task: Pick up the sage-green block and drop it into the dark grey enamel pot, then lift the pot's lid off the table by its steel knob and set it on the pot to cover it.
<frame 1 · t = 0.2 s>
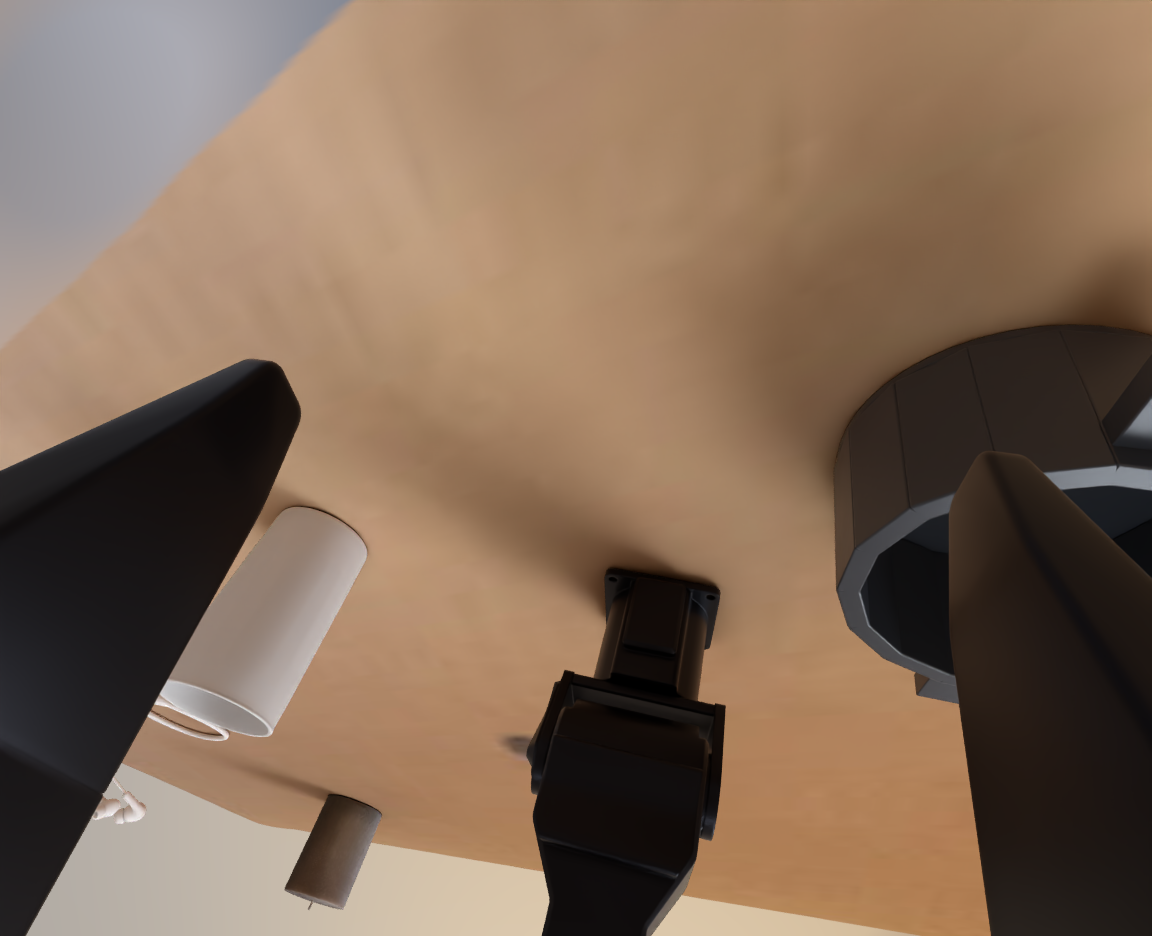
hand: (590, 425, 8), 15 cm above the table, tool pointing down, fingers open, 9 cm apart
earphone: (163, 704, 90), on the table
pot: (1012, 463, 25), on the table
pillar candle: (356, 804, 107), on the table
mug: (309, 535, 43), on the table
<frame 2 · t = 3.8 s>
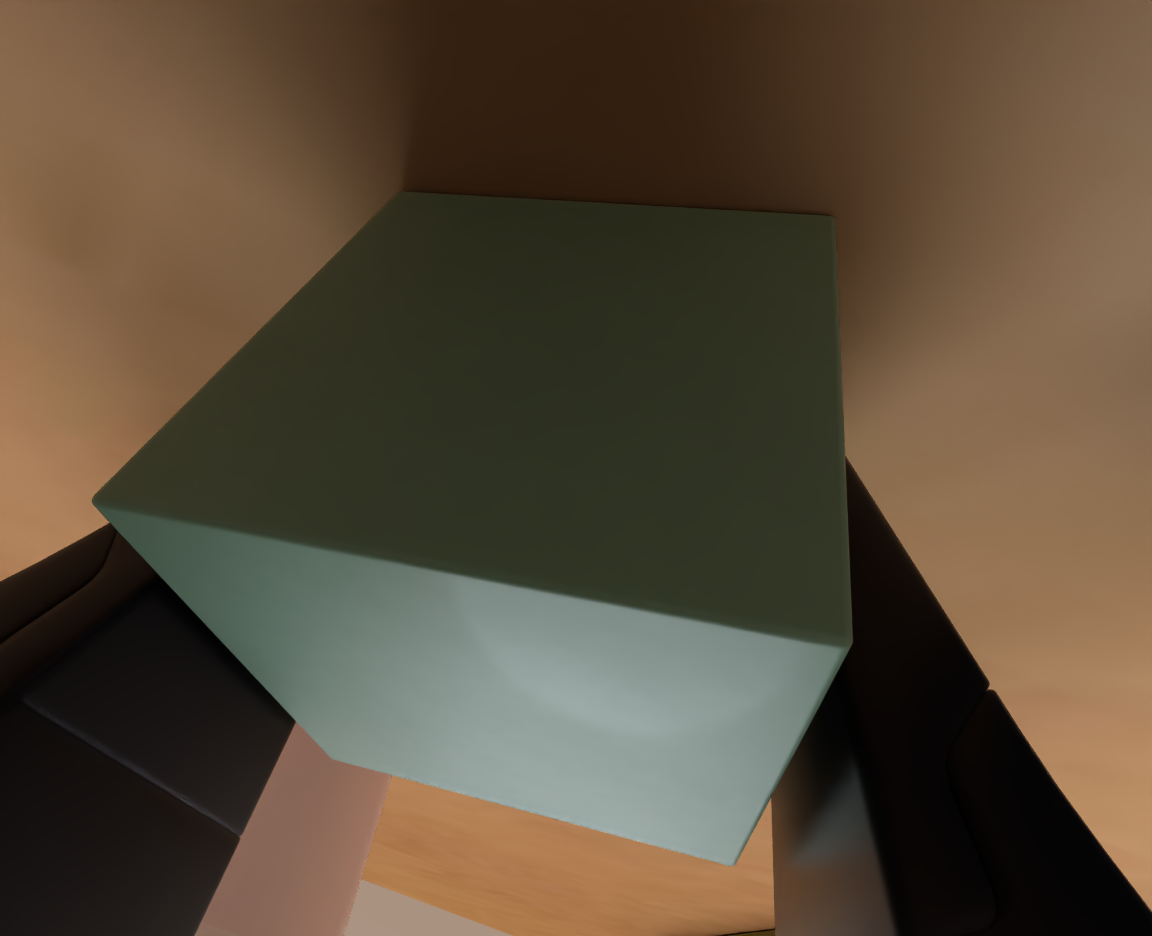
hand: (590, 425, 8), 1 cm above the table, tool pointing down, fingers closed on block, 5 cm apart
block: (605, 377, 9), on the table, touching gripper
smoothie: (361, 695, 22), on the table
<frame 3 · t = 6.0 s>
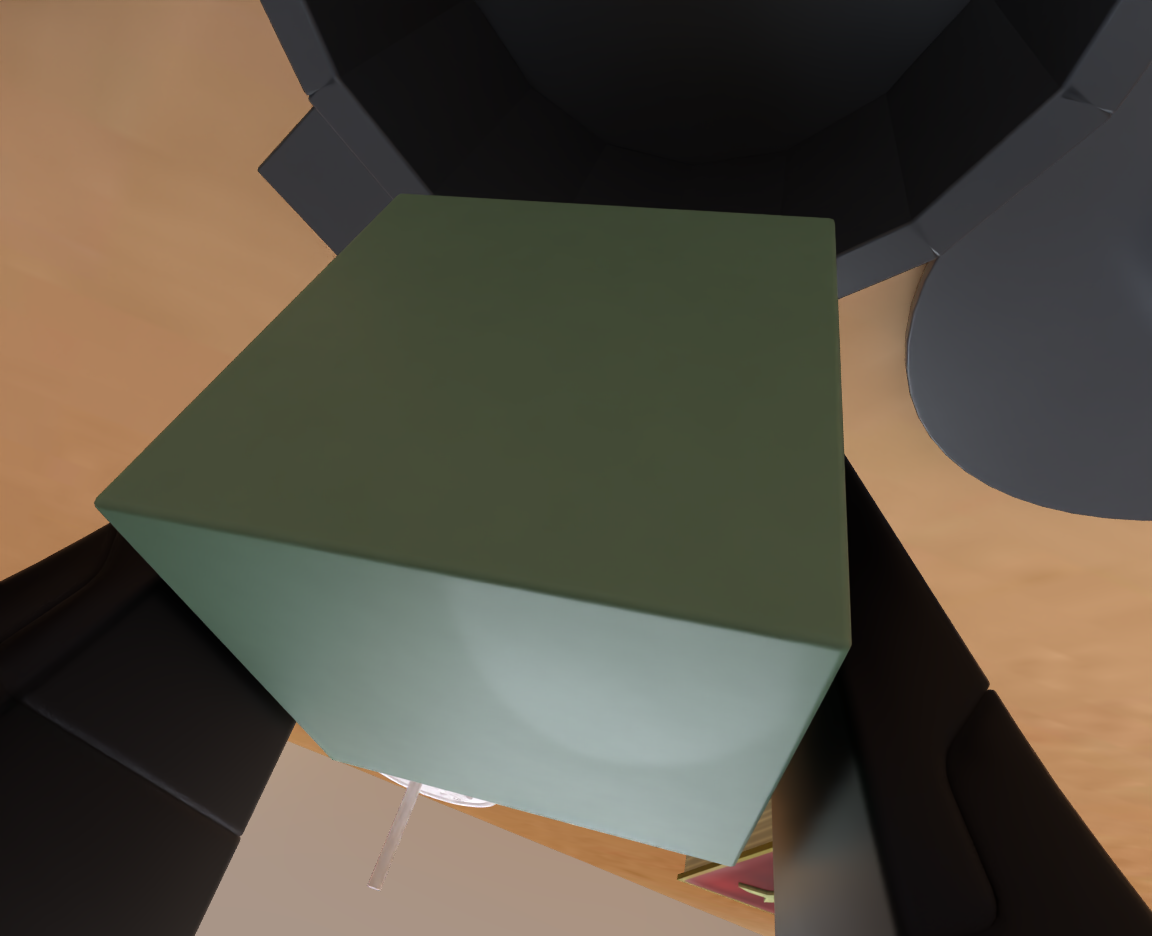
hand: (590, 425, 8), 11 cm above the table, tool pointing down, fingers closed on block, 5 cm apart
block: (606, 378, 9), point 10 cm above the table, touching gripper
smoothie: (503, 591, 35), on the table
hardcover book: (808, 827, 49), on the table
when the fingers open (5 cm above the table, at t = 8.6 s): block drops 4 cm, resting on pot.
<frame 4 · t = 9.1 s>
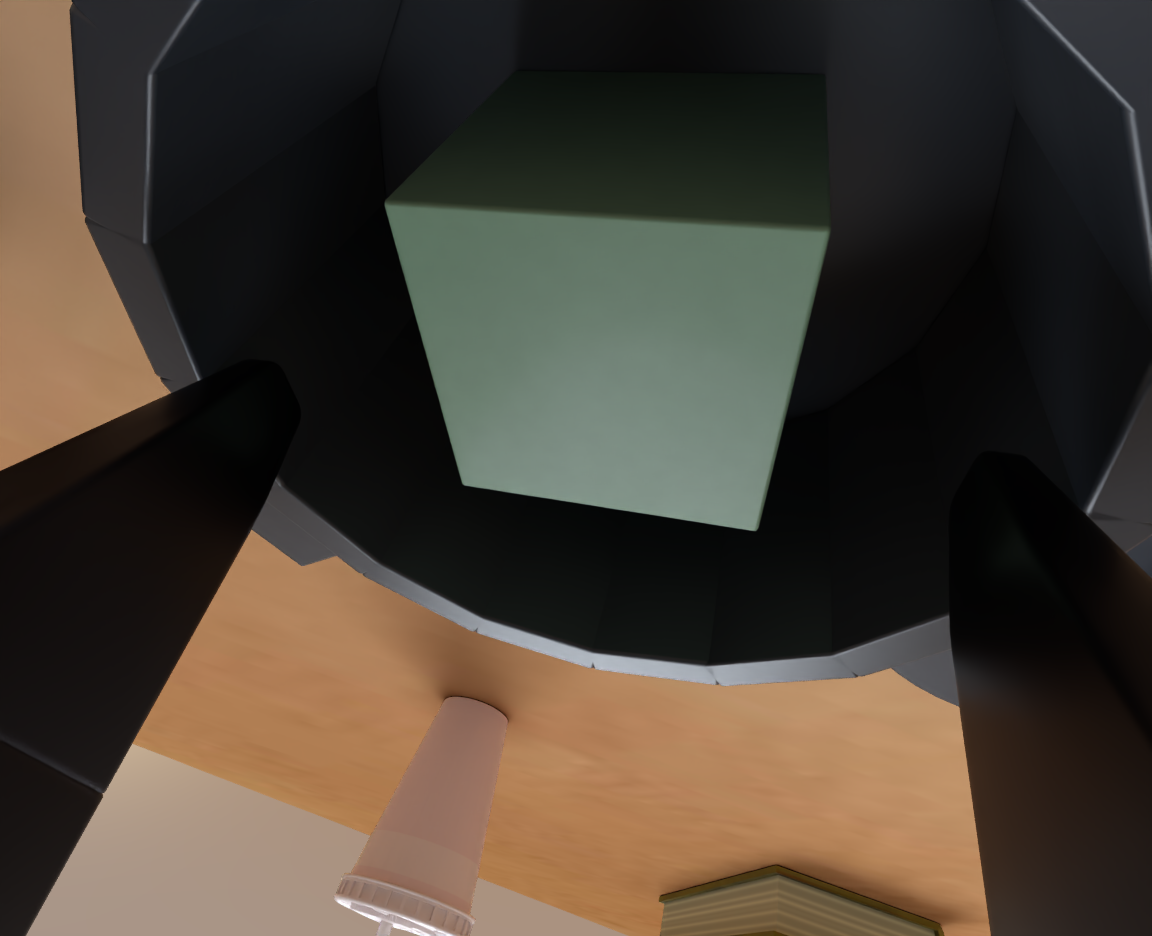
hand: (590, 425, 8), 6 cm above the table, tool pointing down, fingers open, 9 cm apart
pot: (661, 211, 12), on the table
block: (656, 222, 12), resting on pot
smoothie: (477, 709, 35), on the table
hardcover book: (780, 906, 50), on the table
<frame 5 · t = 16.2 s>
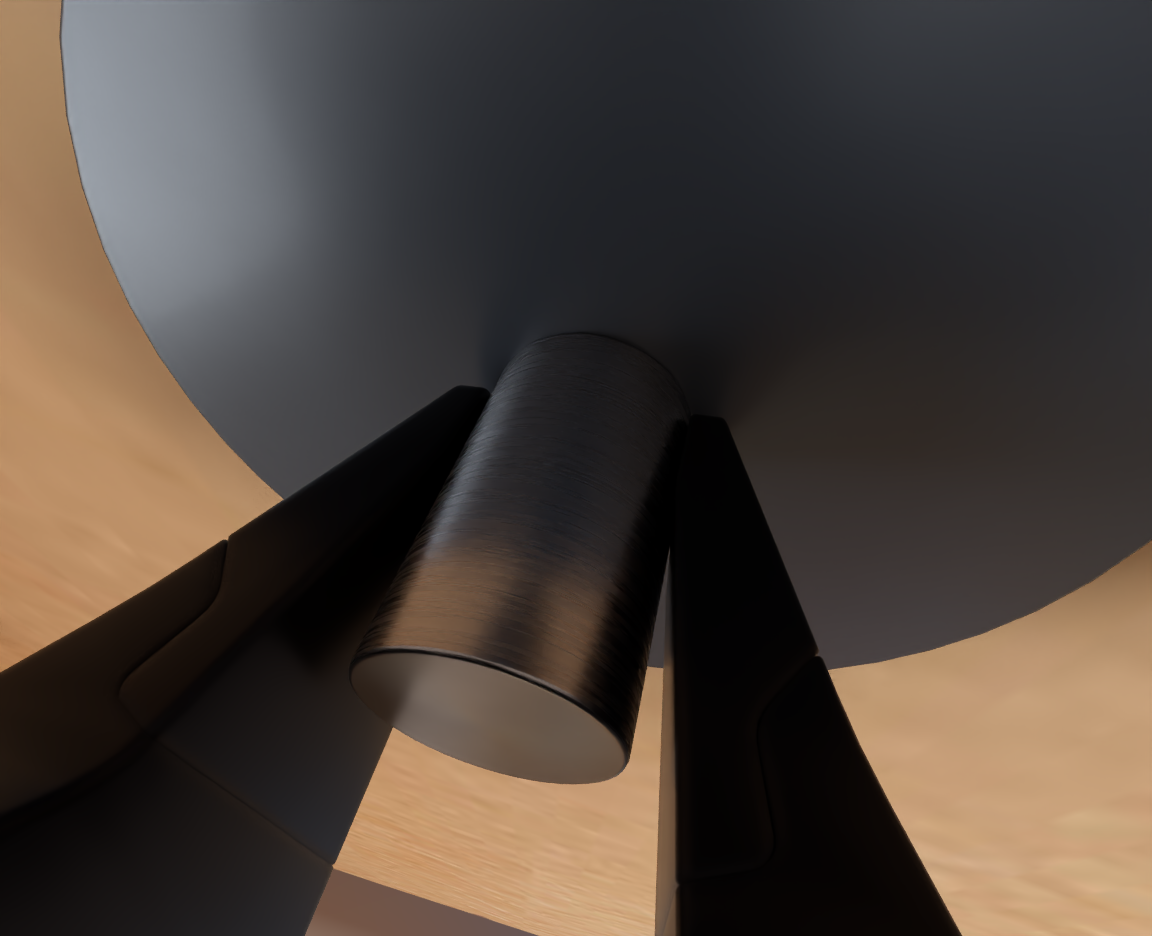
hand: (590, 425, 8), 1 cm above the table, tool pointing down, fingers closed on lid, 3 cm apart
lid: (601, 390, 9), point 1 cm above the table, touching gripper
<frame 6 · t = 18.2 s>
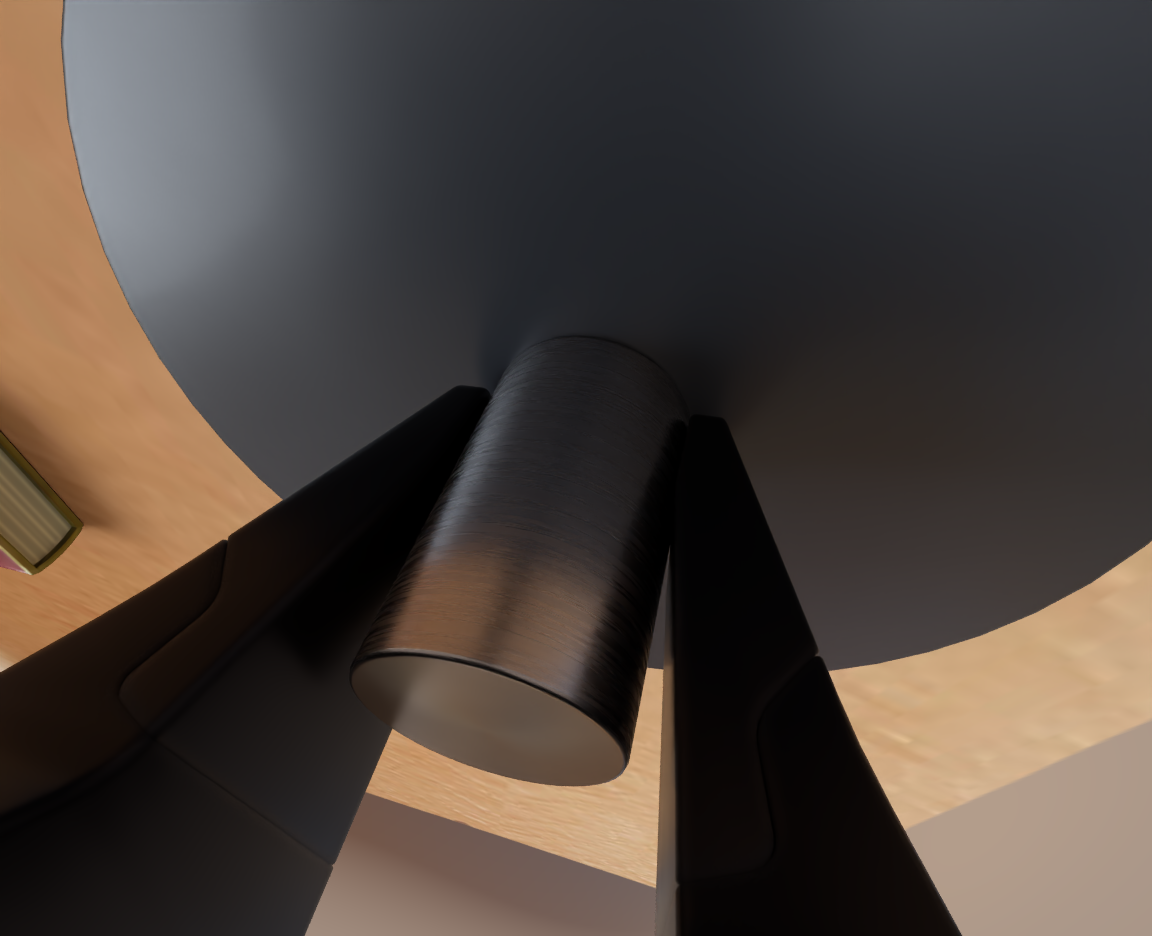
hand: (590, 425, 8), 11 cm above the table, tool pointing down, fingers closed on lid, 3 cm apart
lid: (601, 393, 9), point 10 cm above the table, touching gripper
when the fingers open (7 cm above the table, at t = 20.4 s): lid stays where it is, resting on pot.
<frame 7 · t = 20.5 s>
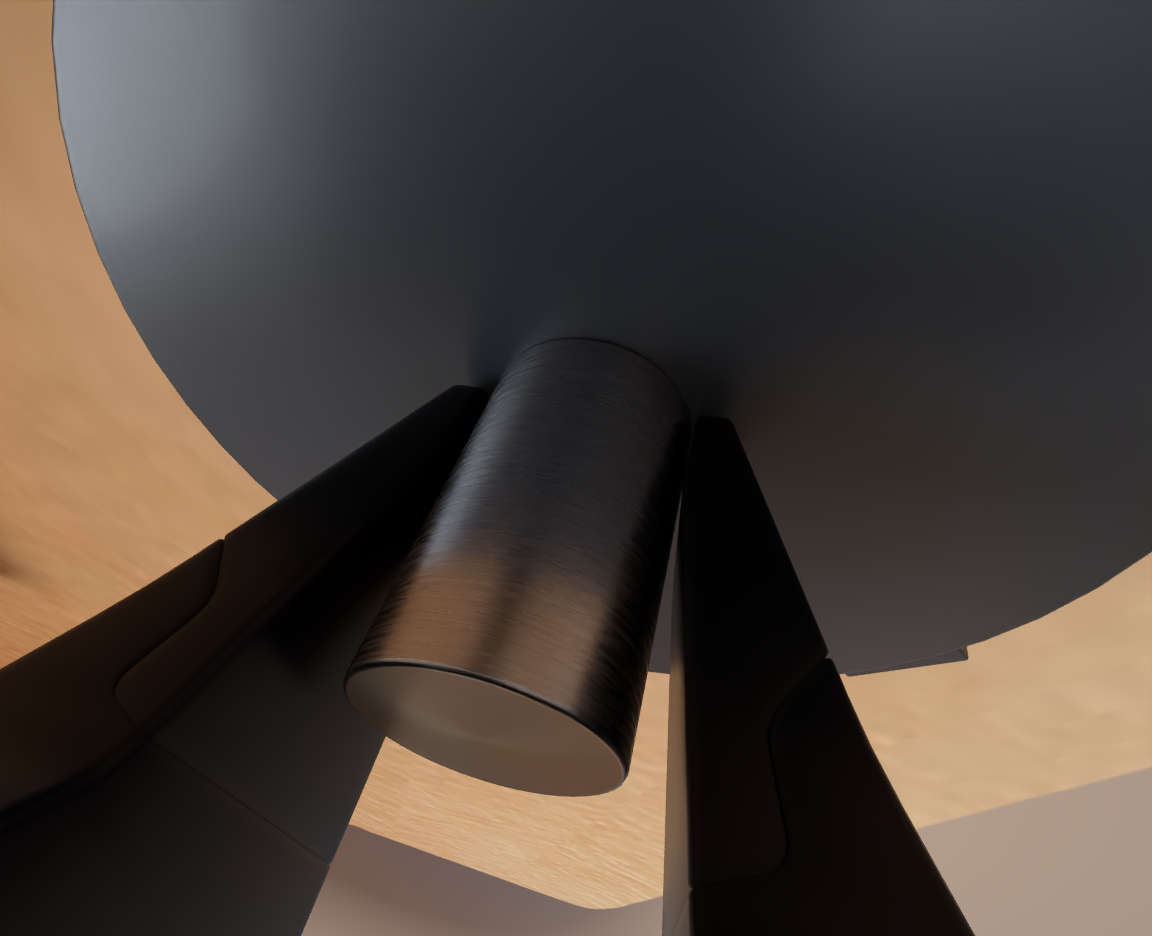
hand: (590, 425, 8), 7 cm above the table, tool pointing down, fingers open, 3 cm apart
pot: (672, 194, 13), on the table
lid: (601, 395, 9), point 6 cm above the table, touching pot
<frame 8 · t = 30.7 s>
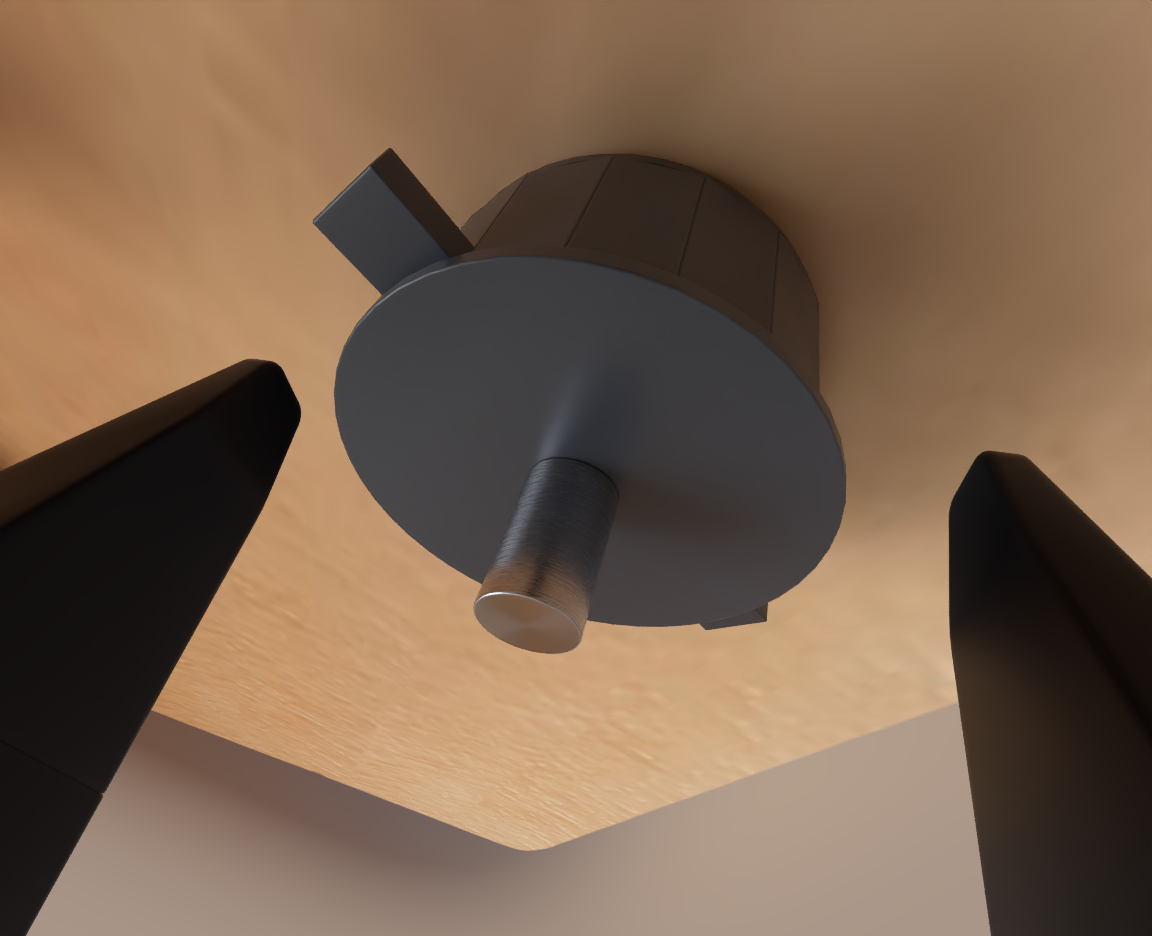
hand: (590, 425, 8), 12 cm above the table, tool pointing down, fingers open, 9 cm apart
pot: (623, 344, 22), on the table
lid: (576, 477, 18), point 6 cm above the table, touching pot
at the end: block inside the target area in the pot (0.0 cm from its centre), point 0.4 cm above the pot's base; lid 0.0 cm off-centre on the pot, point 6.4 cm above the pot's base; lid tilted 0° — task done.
